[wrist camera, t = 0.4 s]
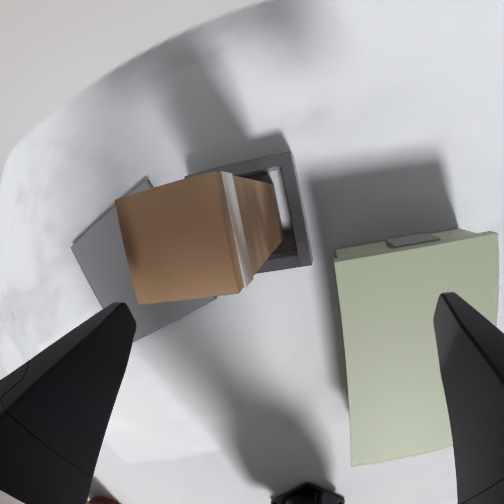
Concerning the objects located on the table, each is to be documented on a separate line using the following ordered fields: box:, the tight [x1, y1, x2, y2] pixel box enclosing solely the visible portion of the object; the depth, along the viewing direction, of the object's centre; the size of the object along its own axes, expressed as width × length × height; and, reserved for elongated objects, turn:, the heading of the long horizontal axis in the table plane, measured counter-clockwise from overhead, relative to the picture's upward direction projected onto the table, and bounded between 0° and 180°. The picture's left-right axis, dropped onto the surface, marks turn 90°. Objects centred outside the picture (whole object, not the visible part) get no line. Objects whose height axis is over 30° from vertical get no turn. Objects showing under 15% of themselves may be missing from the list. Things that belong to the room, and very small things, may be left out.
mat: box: [71, 180, 217, 342], centre depth 26 cm, size 11×11×1 cm
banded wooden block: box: [115, 171, 284, 305], centre depth 17 cm, size 4×4×13 cm
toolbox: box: [333, 228, 499, 467], centre depth 19 cm, size 17×11×6 cm, turn 11°
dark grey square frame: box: [184, 152, 313, 274], centre depth 22 cm, size 8×8×2 cm
